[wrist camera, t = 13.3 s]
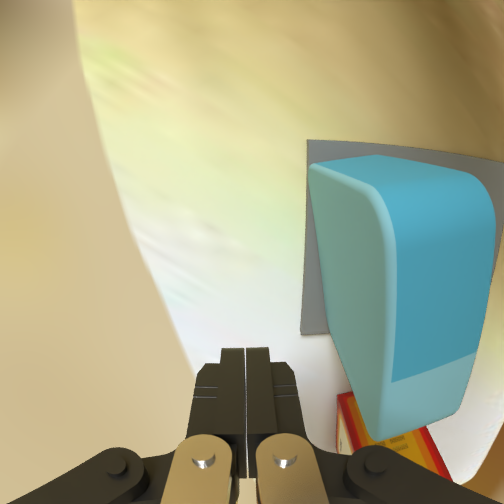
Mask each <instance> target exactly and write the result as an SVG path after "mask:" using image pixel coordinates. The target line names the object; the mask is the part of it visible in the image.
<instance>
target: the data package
mask: <svg viewBox="0 0 504 504" xmlns="http://www.w3.org/2000/svg"><path fill="white" fill-rule="evenodd" d="M308 182H309V190H310V196H311V202H312V209H313V215H314V222H315V229H316V236H317V244H318V251H319V259H320V267H321V275H322V284H323V293H324V302H325V311H326V318H327V323H328V327H329V330H330V334H331V336H332V339H333V341H334V344H335V346H336V349H337V351H338V354H339V357H340V359H341V362H342V364H343V367H344V370H345V372H346V375H347V377H348V380H349V383H350V385H351V388H352V391H353V393H354V396H355V399H356V401H357V404H358V407H359V410H360V412H361V415H362V418H363V421H364V423H365V426H366V429H367V431H368V434H369V435H370V437H371V438H372V439H373V440H374V441H377V442H379V441H383V440H386V439H389V438H392V437H395V436H398V435H401V434H404V433H407V432H410V431H413V430H415V429H418V428H421V427H423V426H426V425H429V424H431V423H434V422H436V421H439V420H441V419H443V418H446V417H448V416H450V415H453V414H454V413H455V412H456V411H457V410H458V409H459V407H460V405H461V402H462V399H463V396H464V393H465V390H466V387H467V384H468V381H469V378H470V374H471V371H472V367H473V364H474V360H475V357H476V353H477V349H478V345H479V341H480V337H481V332H482V328H483V323H484V318H485V313H486V308H487V302H488V296H489V290H490V283H491V276H492V268H493V259H494V248H495V235H496V218H495V212H494V207H493V204H492V201H491V198H490V196H489V194H488V192H487V190H486V188H485V187H484V186H483V184H482V183H481V182H480V181H479V180H478V179H477V178H476V177H475V176H473V175H471V174H469V173H467V172H463V171H459V170H454V169H450V168H446V167H441V166H437V165H432V164H427V163H422V162H417V161H412V160H406V159H401V158H395V157H389V156H383V155H368V156H361V157H353V158H346V159H339V160H332V161H326V162H319V163H313V164H311V165H310V166H309V169H308Z"/></svg>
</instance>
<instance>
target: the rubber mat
mask: <svg viewBox="0 0 504 504" xmlns="http://www.w3.org/2000/svg"><path fill="white" fill-rule="evenodd" d="M368 155H383V156H389V157H395V158H401V159H406V160H412V161H417V162H422V163H427V164H432V165H437V166H441V167H446V168H450V169H454V170H459V171H463V172H467V173H469V174H471V175H473V176H475V177H476V178H477V179H478V180H479V181H480V182H481V183H482V184H483V186H484V187H485V188H486V190H487V192H488V194H489V196H490V198H491V201H492V204H493V207H494V212H495V218H496V235H495V248H494V259H493V268H492V276H491V281H492V277H493V273H494V269H495V265H496V261H497V256H498V252H499V247H500V242H501V236H502V231H503V225H504V163H502V162H497V161H492V160H487V159H482V158H477V157H472V156H466V155H461V154H455V153H448V152H442V151H435V150H428V149H420V148H413V147H404V146H395V145H385V144H374V143H362V142H347V141H329V140H307V189H306V228H305V254H304V276H303V294H302V310H301V325H300V332H301V335H306V334H323V333H330V330H329V327H328V323H327V318H326V311H325V302H324V293H323V284H322V275H321V267H320V259H319V251H318V244H317V236H316V229H315V222H314V215H313V209H312V202H311V196H310V190H309V182H308V169H309V166H310V165H311V164H313V163H319V162H326V161H332V160H339V159H346V158H353V157H361V156H368ZM490 285H491V283H490Z"/></svg>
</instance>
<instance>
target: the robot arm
mask: <svg viewBox="0 0 504 504" xmlns="http://www.w3.org/2000/svg"><path fill="white" fill-rule="evenodd" d="M246 403H247V448H248V468H249V478H256V497H257V504H502V503H500V502H497V501H495V500H492V499H490V498H488V497H485V496H483V495H481V494H478V493H476V492H474V491H472V490H470V489H467V488H465V487H463V486H461V485H459V484H457V483H455V482H452V481H450V480H448V479H446V478H444V477H442V476H440V475H438V474H436V473H434V472H432V471H430V470H428V469H426V468H425V467H423V466H421V465H419V464H417V463H415V462H413V461H411V460H410V459H408V458H406V457H404V456H402V455H400V454H399V453H397V452H395V451H393V450H391V449H389V448H387V447H384V446H380V445H369V446H364V447H362V448H360V449H358V450H356V451H355V452H354V453H353V454H352V455H345V454H337V453H330V452H326V451H323V450H321V449H319V448H317V447H316V446H314V445H313V444H312V443H311V442H310V441H309V439H308V438H307V436H306V432H305V427H304V422H303V417H302V411H301V406H300V401H299V396H298V390H297V386H296V380H295V375H294V371H293V370H292V369H291V368H290V367H289V366H288V364H287V363H286V362H270V356H269V348H268V347H259V348H246V379H245V353H244V348H222V350H221V359H220V364H217V363H206V364H205V365H204V366H203V367H202V369H201V370H200V371H199V372H198V374H197V378H196V384H195V389H194V395H193V400H192V406H191V412H190V418H189V423H188V429H187V435H186V438H185V440H184V441H183V442H181V443H180V444H179V445H178V447H177V449H176V450H174V451H173V452H170V453H168V454H165V455H160V456H154V457H147V458H140V457H139V456H138V455H137V454H136V453H135V452H133V451H131V450H129V449H126V448H120V447H118V448H109V449H106V450H104V451H102V452H101V453H99V454H97V455H96V456H94V457H92V458H91V459H89V460H87V461H85V462H84V463H82V464H80V465H79V466H77V467H75V468H74V469H72V470H70V471H68V472H67V473H65V474H63V475H61V476H59V477H58V478H56V479H54V480H52V481H50V482H48V483H47V484H45V485H43V486H41V487H39V488H38V489H35V490H33V491H32V492H30V493H28V494H26V495H24V496H22V497H20V498H18V499H16V500H14V501H12V502H10V503H7V504H238V497H239V478H247V458H246Z"/></svg>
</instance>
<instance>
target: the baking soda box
mask: <svg viewBox="0 0 504 504" xmlns="http://www.w3.org/2000/svg"><path fill="white" fill-rule="evenodd" d="M369 445H380V446H384V447H387V448H389V449H391V450H393V451H395V452H397V453H399V454H400V455H402V456H404V457H406V458H408V459H410V460H411V461H413V462H415V463H417V464H419V465H421V466H423V467H425V468H426V469H428V470H430V471H432V472H434V473H436V474H438V475H440V476H442V477H444V478H446V479H448V480H450V481H452V482H453V480H452V478H451V476H450V474H449V472H448V469H447V467H446V465H445V463H444V461H443V459H442V457H441V455H440V453H439V451H438V449H437V447H436V445H435V443H434V441H433V439H432V437H431V435H430V433H429V431H428V429H427V427H426V426H423V427H421V428H418V429H415V430H413V431H410V432H407V433H404V434H401V435H398V436H395V437H392V438H389V439H386V440H383V441H379V442H377V441H374V440H373V439H372V438H371V437H370V435H369V434H368V431H367V429H366V426H365V423H364V421H363V418H362V415H361V412H360V410H359V407H358V404H357V401H356V399H355V396H354V393H353V391H352V392H348V393H343V394H339V395H337V425H336V450H337V454H345V455H352V454H353V453H354V452H355V451H356V450H358V449H360V448H362V447H364V446H369Z"/></svg>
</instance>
